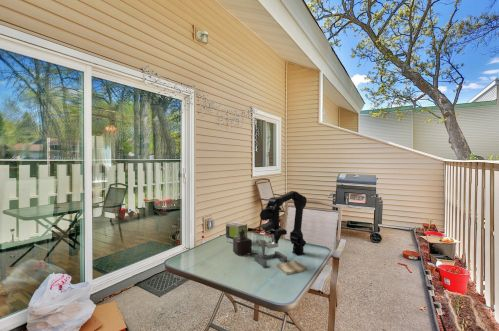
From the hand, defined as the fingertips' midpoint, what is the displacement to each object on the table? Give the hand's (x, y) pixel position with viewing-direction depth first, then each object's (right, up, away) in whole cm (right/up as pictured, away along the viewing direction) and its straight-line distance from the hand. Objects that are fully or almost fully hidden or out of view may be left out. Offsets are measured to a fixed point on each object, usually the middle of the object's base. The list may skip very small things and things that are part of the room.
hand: (275, 242), depth 160 cm
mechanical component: (-7, -13, +13) cm, 19 cm away
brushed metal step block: (-2, -3, -1) cm, 3 cm away
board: (+9, -13, -9) cm, 18 cm away
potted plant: (-20, -13, +16) cm, 29 cm away
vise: (-3, -12, +1) cm, 13 cm away
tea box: (-26, -12, +41) cm, 50 cm away
